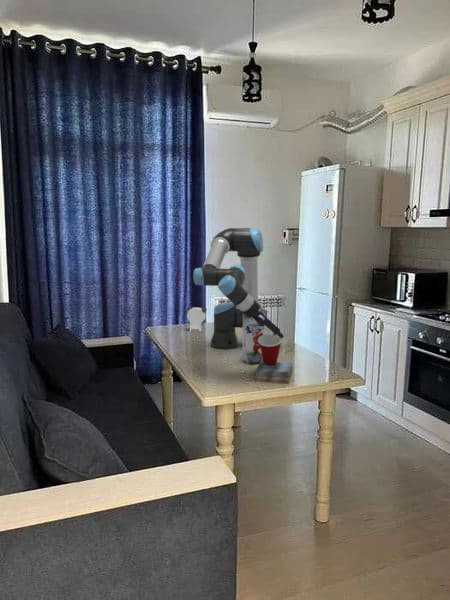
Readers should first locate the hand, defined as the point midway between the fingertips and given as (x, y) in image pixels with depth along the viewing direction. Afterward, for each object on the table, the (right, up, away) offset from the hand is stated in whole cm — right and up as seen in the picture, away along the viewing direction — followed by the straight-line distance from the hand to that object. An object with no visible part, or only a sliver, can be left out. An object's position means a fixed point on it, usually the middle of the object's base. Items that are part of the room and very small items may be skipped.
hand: (280, 338), depth 200 cm
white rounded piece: (-42, -3, +87) cm, 96 cm away
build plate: (-2, -16, +2) cm, 17 cm away
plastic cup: (-4, -11, +5) cm, 13 cm away
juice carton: (-10, -13, +22) cm, 28 cm away
